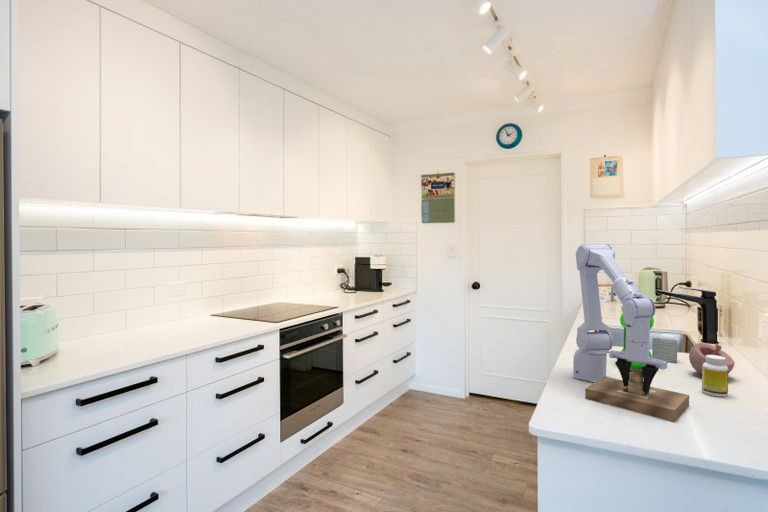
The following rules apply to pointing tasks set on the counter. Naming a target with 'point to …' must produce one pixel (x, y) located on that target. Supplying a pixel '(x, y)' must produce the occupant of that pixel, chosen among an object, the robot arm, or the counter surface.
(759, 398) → the counter surface
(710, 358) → the pill bottle
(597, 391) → the socket board
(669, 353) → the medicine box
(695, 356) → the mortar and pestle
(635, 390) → the beech peg
